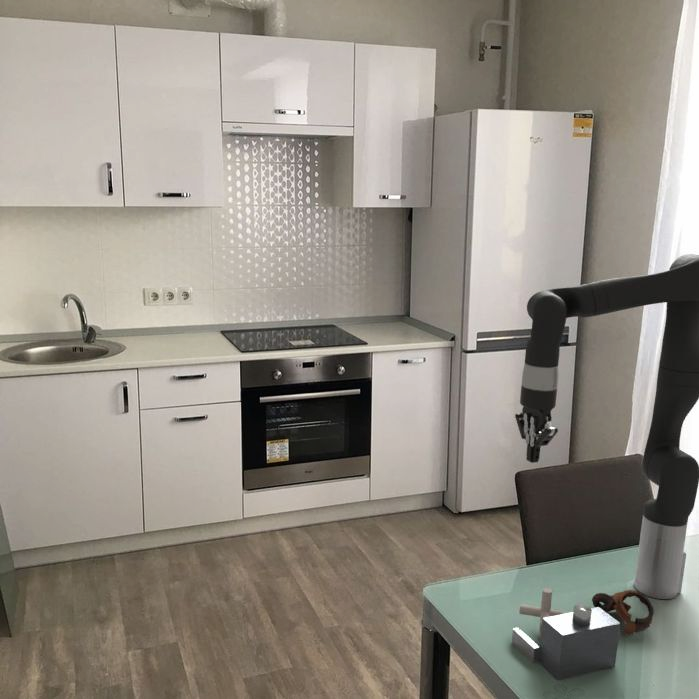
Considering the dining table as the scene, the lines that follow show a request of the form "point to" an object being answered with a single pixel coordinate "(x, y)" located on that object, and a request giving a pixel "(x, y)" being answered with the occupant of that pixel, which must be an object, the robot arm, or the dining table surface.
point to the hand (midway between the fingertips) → (532, 461)
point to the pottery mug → (625, 609)
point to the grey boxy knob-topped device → (573, 642)
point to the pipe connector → (544, 610)
